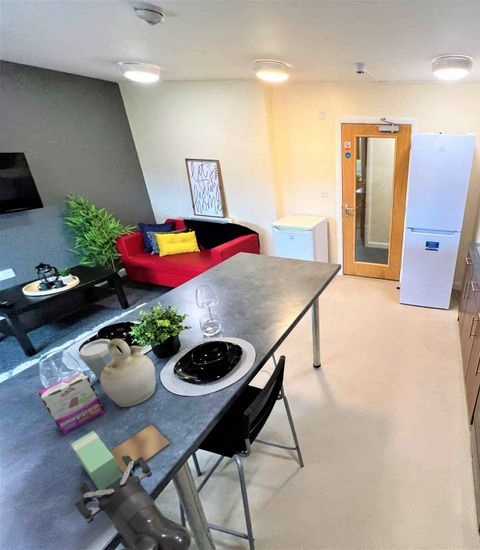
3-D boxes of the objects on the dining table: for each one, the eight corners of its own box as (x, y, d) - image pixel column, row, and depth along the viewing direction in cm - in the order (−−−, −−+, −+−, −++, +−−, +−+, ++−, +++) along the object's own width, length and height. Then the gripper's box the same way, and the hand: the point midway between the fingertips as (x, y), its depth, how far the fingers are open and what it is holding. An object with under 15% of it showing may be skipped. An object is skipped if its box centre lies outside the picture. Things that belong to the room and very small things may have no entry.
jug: (147, 373, 118) (129, 322, 108) (168, 389, 112) (151, 336, 101) (101, 398, 106) (76, 343, 96) (122, 418, 99) (97, 361, 89)
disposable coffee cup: (129, 375, 117) (117, 345, 111) (94, 390, 109) (79, 359, 103) (121, 363, 123) (109, 334, 117) (88, 377, 115) (73, 346, 109)
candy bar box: (100, 405, 104) (83, 370, 97) (105, 412, 101) (89, 376, 94) (57, 428, 95) (36, 391, 88) (62, 436, 93) (40, 398, 86)
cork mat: (125, 476, 82) (125, 475, 82) (108, 453, 88) (107, 452, 88) (170, 443, 92) (169, 442, 92) (151, 424, 97) (151, 424, 97)
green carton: (102, 496, 78) (89, 473, 74) (83, 466, 84) (70, 443, 80) (125, 479, 82) (114, 456, 77) (104, 452, 88) (93, 430, 84)
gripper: (160, 474, 74) (131, 441, 82) (89, 530, 63) (63, 486, 71) (167, 491, 77) (138, 458, 85) (100, 548, 66) (75, 504, 74)
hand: (104, 471), depth 78 cm, fingers open, 8 cm apart
